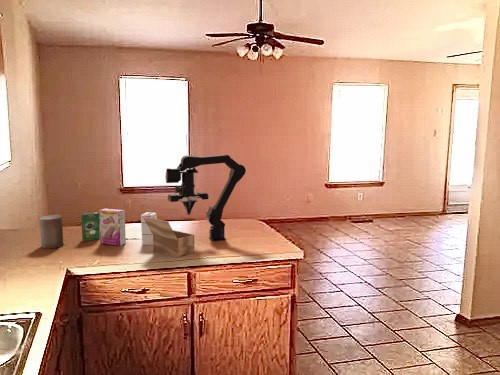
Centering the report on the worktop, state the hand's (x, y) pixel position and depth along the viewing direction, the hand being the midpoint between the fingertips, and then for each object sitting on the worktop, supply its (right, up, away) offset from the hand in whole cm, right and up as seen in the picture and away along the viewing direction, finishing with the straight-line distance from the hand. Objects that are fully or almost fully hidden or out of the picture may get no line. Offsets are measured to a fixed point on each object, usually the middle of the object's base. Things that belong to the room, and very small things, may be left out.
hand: (188, 214), depth 235 cm
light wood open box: (-4, -16, -16) cm, 23 cm away
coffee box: (-48, -13, +4) cm, 50 cm away
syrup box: (-18, -14, -2) cm, 23 cm away
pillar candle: (-62, -14, -7) cm, 64 cm away
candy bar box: (-35, -14, -4) cm, 38 cm away
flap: (-9, -4, -24) cm, 26 cm away
